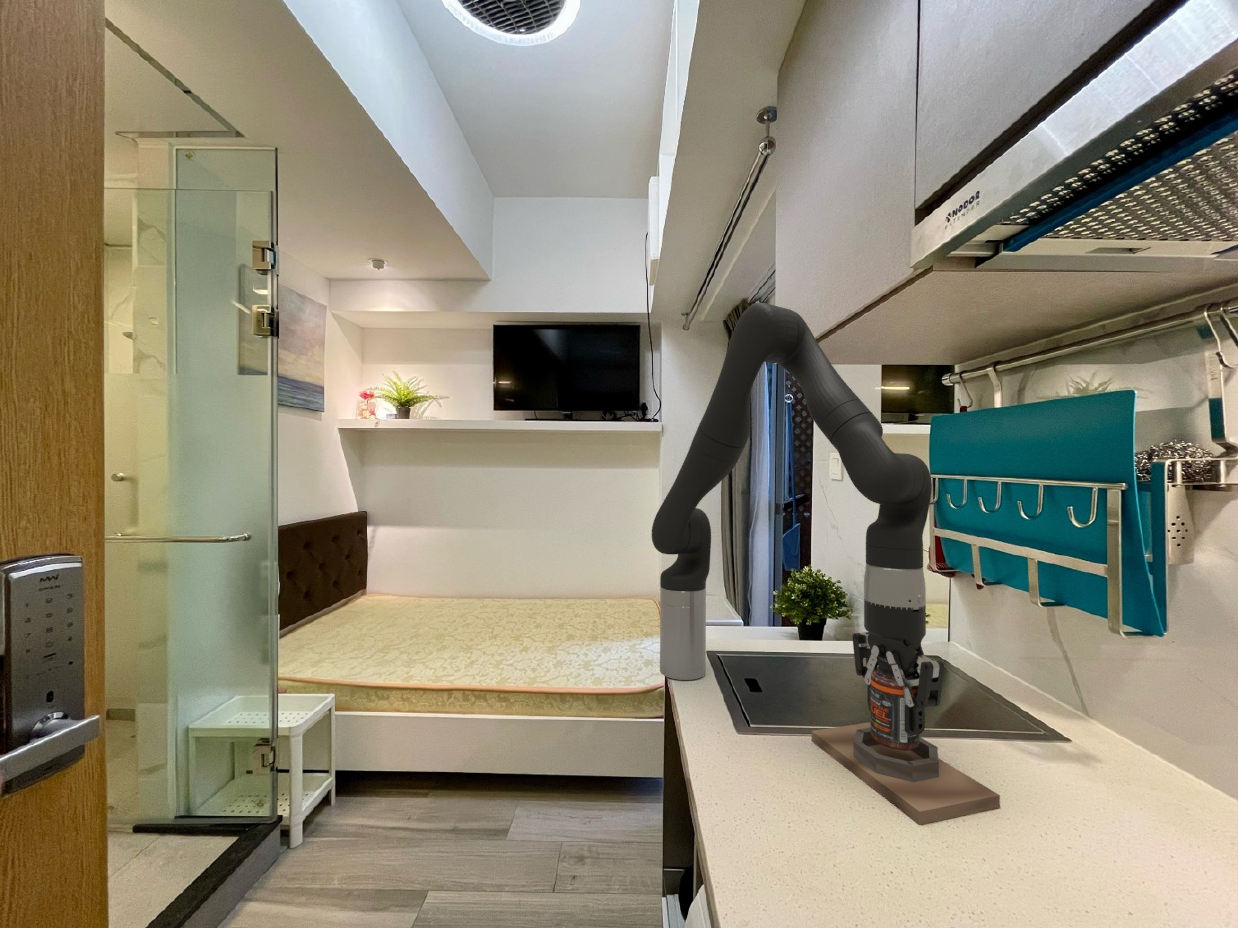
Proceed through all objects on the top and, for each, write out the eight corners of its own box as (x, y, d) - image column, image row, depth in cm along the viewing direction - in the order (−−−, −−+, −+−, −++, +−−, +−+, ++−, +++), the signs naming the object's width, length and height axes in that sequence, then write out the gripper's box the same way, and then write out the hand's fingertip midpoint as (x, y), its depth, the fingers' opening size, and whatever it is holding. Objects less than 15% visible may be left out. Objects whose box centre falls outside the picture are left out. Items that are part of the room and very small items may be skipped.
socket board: (811, 740, 80) (811, 717, 80) (877, 730, 84) (877, 708, 84) (919, 824, 61) (919, 793, 61) (999, 807, 64) (999, 778, 64)
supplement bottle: (860, 734, 74) (860, 653, 74) (892, 727, 76) (892, 648, 77) (896, 756, 69) (896, 667, 69) (930, 747, 71) (929, 662, 71)
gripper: (835, 589, 79) (836, 703, 78) (914, 613, 65) (915, 752, 65) (877, 586, 81) (878, 698, 80) (962, 609, 67) (963, 744, 67)
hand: (894, 721), depth 72 cm, fingers closed on supplement bottle, 6 cm apart
